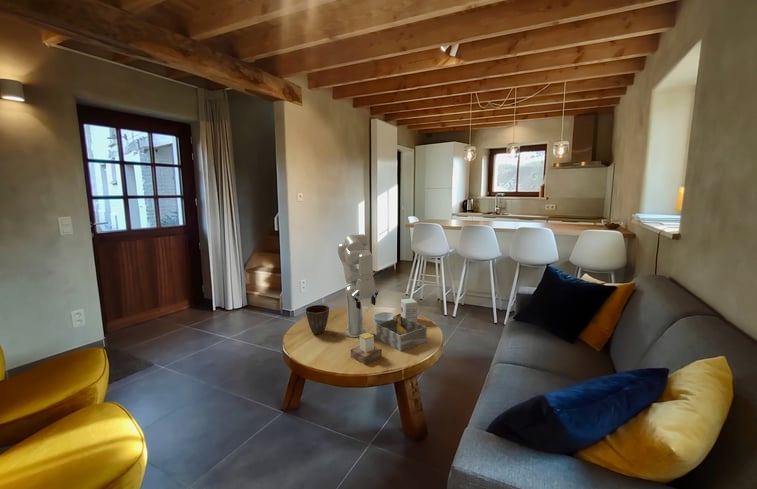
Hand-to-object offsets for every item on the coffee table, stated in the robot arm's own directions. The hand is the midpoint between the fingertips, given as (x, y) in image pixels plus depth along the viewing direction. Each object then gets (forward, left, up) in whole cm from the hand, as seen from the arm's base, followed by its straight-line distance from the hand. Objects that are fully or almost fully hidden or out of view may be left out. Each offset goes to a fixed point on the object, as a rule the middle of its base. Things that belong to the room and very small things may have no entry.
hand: (366, 306), depth 186 cm
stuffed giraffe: (-2, +26, -28) cm, 38 cm away
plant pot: (-43, -9, -28) cm, 52 cm away
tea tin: (+3, -2, -23) cm, 23 cm away
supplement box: (-21, +49, -28) cm, 60 cm away
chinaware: (-23, +30, -28) cm, 47 cm away
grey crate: (-2, +26, -28) cm, 38 cm away
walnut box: (+3, -3, -28) cm, 28 cm away
